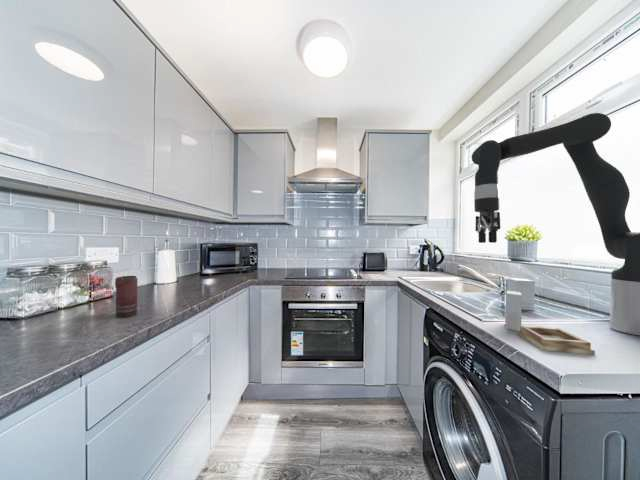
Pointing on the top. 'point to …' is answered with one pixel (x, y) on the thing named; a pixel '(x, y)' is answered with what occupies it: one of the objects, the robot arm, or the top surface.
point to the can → (126, 296)
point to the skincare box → (513, 310)
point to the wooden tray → (555, 340)
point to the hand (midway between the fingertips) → (487, 242)
